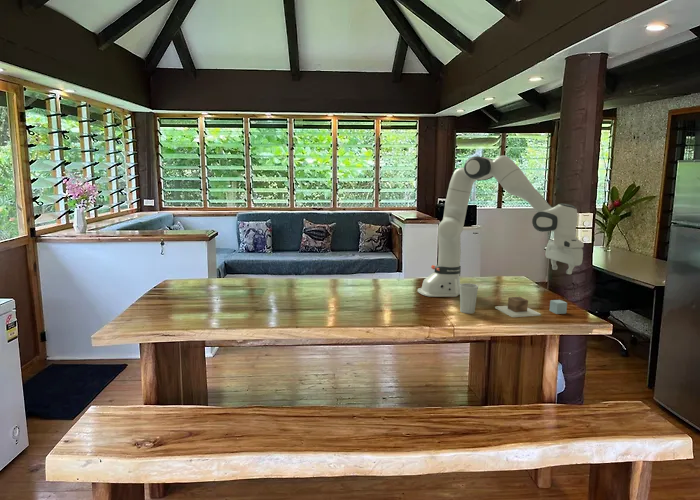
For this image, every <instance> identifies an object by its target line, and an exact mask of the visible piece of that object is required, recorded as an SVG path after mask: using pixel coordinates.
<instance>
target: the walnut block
mask: <svg viewBox="0 0 700 500" xmlns="http://www.w3.org/2000/svg"><path fill="white" fill-rule="evenodd" d="M528 305H529V300H528V299H526V298H523V297H521V296H515V297H513V296H512V297H508V301H507V306H508V309H510V310H512V311H514V312H524V311H527V308H529V306H528Z"/></svg>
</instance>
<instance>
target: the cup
mask: <svg viewBox="0 0 700 500" xmlns="http://www.w3.org/2000/svg"><path fill="white" fill-rule="evenodd" d="M478 290H479V285H478V284H475V283H467V282H465V283H460V294H459V301H460V302H459V304H460V305H459V307H460V309H459V311H460V312H461V313H464V314H474V313H475V311H476V305H477V295H478Z"/></svg>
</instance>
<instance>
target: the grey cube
mask: <svg viewBox="0 0 700 500" xmlns="http://www.w3.org/2000/svg"><path fill="white" fill-rule="evenodd" d="M567 307H568V302H566V301H564V300H562V299H551V300H549V310H548V311H549V312H551V313H553V314H555V315H560V314H561V315H564V314H567V309H568V308H567Z"/></svg>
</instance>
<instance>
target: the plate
mask: <svg viewBox="0 0 700 500" xmlns="http://www.w3.org/2000/svg"><path fill="white" fill-rule="evenodd" d="M494 309H496V310H498V311H499V312H501V313H503V314H505V315H507V316H509V317H511V318H523V317H525V318H526V317H536V316H542V314H541V313H540V312H538V311H536V310H534V309H532V308H530V307H528V308H527V311H524V312H514V311H512V310H510V309H508V305H498V306H494Z"/></svg>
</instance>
